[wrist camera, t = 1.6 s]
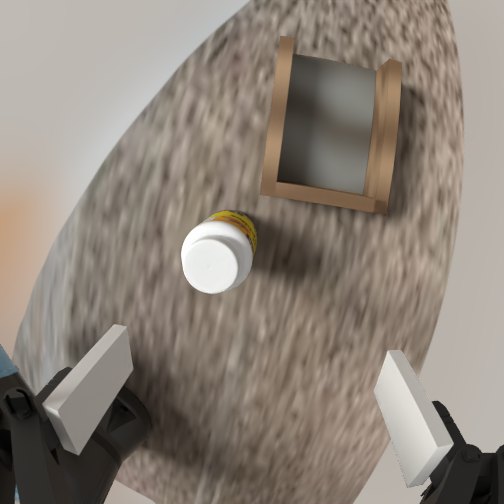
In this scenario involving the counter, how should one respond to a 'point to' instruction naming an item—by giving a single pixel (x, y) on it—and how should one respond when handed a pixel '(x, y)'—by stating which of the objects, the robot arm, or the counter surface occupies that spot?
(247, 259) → the supplement bottle
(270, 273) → the counter surface
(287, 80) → the walnut u rest
